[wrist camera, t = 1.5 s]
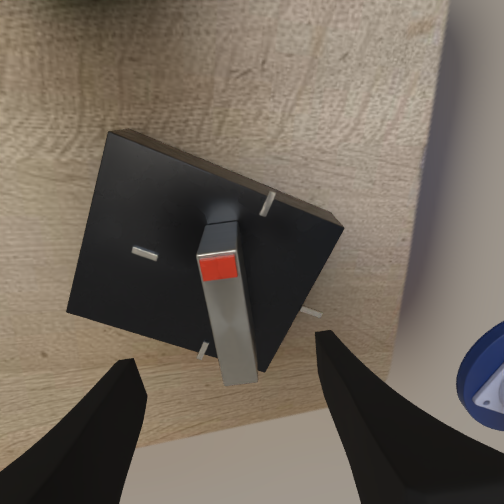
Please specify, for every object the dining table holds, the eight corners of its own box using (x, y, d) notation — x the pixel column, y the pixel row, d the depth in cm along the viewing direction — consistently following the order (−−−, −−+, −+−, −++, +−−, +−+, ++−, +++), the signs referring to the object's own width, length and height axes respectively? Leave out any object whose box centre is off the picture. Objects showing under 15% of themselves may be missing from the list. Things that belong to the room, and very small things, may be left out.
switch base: (352, 215, 21) (370, 231, 18) (276, 352, 25) (281, 384, 22) (129, 121, 18) (108, 123, 15) (86, 291, 22) (63, 318, 19)
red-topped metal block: (255, 334, 20) (258, 386, 16) (226, 337, 20) (223, 390, 17) (238, 220, 17) (237, 251, 14) (204, 224, 17) (194, 257, 14)
